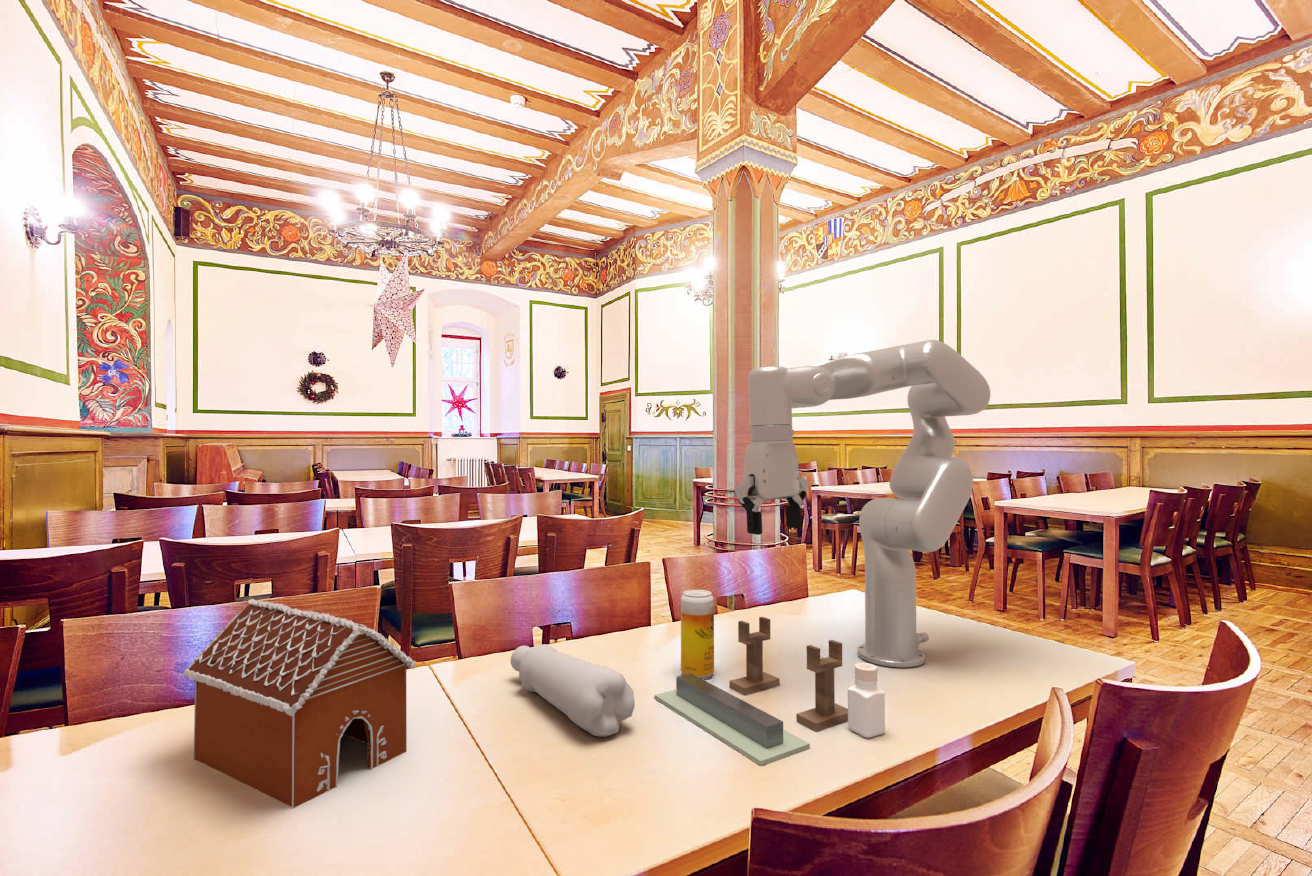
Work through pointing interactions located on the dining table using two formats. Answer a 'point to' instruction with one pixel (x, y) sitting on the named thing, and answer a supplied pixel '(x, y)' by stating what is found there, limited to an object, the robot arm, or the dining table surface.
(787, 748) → the board
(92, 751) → the dining table surface
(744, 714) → the rail
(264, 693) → the gingerbread house
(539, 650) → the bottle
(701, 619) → the beer can
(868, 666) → the salt shaker
